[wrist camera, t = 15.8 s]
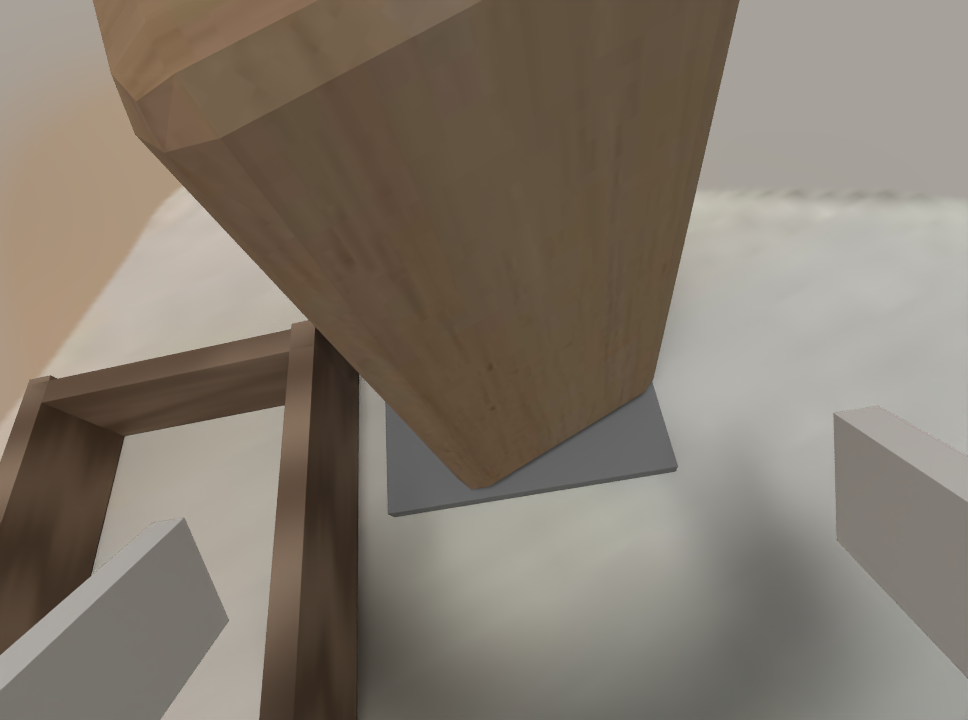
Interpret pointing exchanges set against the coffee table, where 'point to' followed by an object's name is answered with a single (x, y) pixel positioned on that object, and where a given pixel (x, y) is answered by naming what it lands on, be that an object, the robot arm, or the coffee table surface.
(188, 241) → the coffee table surface
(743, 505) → the coffee table surface
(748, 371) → the coffee table surface
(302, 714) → the wooden u-shaped frame
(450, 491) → the pad
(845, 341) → the coffee table surface
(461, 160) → the wooden block
